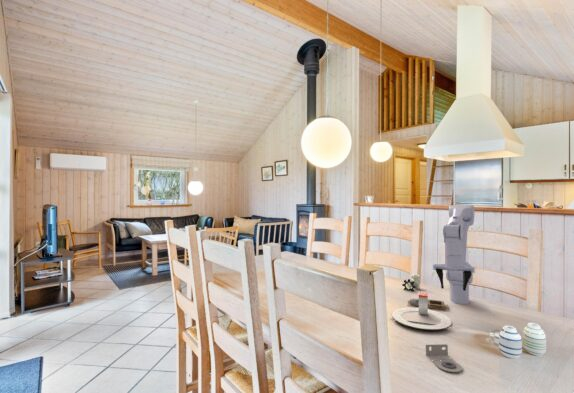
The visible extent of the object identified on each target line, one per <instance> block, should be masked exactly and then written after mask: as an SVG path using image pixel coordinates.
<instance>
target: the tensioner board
mask: <svg viewBox="0 0 574 393" xmlns="http://www.w3.org/2000/svg"><path fill="white" fill-rule="evenodd" d="M407 307H408V308H419V298H410V299H408V300H407ZM450 309H451V308H450V306H449V304H446V303H445V302H444V301H443V300H435V299H428V310H433V311H443V312H451V310H450Z"/></svg>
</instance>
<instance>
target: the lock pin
mask: <svg viewBox="0 0 574 393" xmlns="http://www.w3.org/2000/svg"><path fill="white" fill-rule="evenodd" d="M428 294H429V293H426V292H418V299H419V312H418V314H419V315H426V316H428V315H429V314H428V310H429V309H428V300H429V298H428Z"/></svg>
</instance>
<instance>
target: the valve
mask: <svg viewBox="0 0 574 393" xmlns="http://www.w3.org/2000/svg"><path fill="white" fill-rule="evenodd" d="M420 284H421V277H420V275H419V274H412V275H411V279H410V278H408V279H407V280H406V279H404V280H403V283H402V284H401V286H402V287H404V288H403V290H404V291H408V292H409V291H411V292H415V291H416V290H420V286H421V285H420Z"/></svg>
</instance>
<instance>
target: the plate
mask: <svg viewBox="0 0 574 393" xmlns="http://www.w3.org/2000/svg"><path fill="white" fill-rule="evenodd" d="M407 313H419V308H417V307H402V308H397V309H395V310H394V311H392V313H391V317H392V318H393V320H394V321H396V322H397V323H399V324H400V325H403V326H405V327H409V328H412V329H416V330H421V331H440V330H445V329H448V328H450V327H451V326H452V319H450V318H449V317H448V315H445V314H443V313H442V312H440V311H437V310H433V309H428V315H431V316H433V317H436V319H438V320H439V321H440V323H437V324H435V323H426V322H421V321H420V322H419V321H415V320H414V321H413V320H406V319H404V317H403V315H404V314H407Z"/></svg>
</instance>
